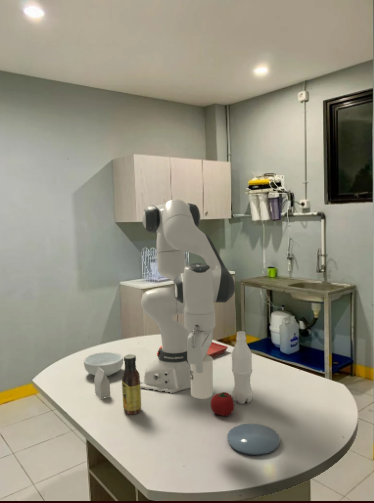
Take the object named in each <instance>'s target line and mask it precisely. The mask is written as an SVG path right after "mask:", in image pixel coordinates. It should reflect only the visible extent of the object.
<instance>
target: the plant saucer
mask: <svg viewBox="0 0 374 503" xmlns="http://www.w3.org/2000/svg"><path fill="white" fill-rule="evenodd" d="M228 348H229V346H227V345H223V344H221V343H220V344H219V343H216V342H213V341H212V343H211V345H210V347H209V349H208V351H207V355H209V356H211V357H212V358H214V357H217V356H219V355H221V354H224V353H225V352H226V351H227V349H228Z"/></svg>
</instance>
